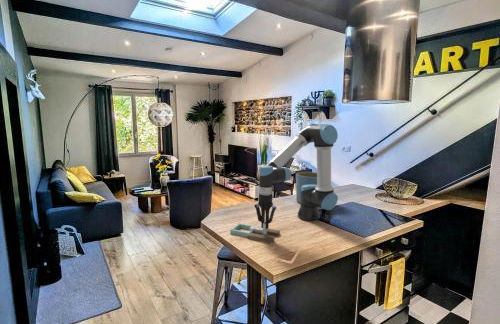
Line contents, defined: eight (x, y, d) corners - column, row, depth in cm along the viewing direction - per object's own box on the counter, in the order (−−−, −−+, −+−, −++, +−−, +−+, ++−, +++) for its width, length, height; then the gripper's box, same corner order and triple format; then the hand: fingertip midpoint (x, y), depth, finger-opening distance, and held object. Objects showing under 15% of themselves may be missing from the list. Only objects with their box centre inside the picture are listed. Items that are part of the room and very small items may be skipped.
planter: (305, 207, 209) (306, 178, 206) (290, 199, 230) (291, 172, 226) (329, 204, 218) (330, 176, 214) (312, 197, 239) (313, 171, 235)
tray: (239, 228, 167) (239, 223, 167) (256, 231, 162) (256, 226, 162) (230, 234, 158) (230, 229, 157) (248, 238, 152) (248, 233, 152)
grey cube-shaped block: (252, 232, 160) (252, 225, 159) (258, 233, 158) (258, 226, 157) (249, 234, 156) (249, 227, 155) (255, 235, 154) (256, 229, 154)
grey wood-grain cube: (258, 233, 158) (258, 226, 157) (264, 234, 156) (265, 228, 156) (255, 235, 154) (255, 229, 154) (262, 237, 153) (262, 230, 152)
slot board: (257, 231, 164) (257, 226, 163) (279, 235, 158) (279, 230, 157) (247, 239, 151) (247, 234, 151) (271, 245, 145) (271, 239, 145)
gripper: (252, 193, 150) (251, 234, 153) (274, 196, 144) (273, 238, 148) (257, 190, 156) (257, 229, 160) (278, 193, 151) (277, 233, 154)
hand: (264, 233), depth 154 cm, fingers closed
